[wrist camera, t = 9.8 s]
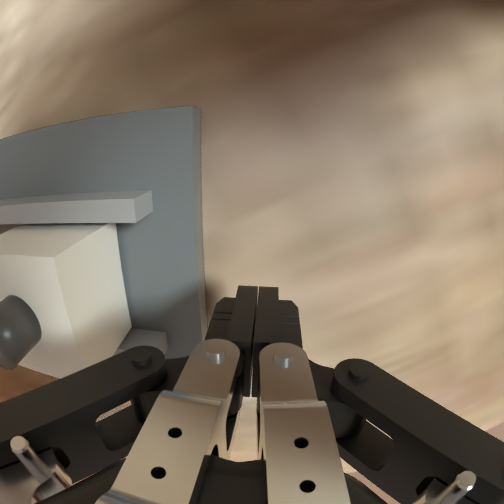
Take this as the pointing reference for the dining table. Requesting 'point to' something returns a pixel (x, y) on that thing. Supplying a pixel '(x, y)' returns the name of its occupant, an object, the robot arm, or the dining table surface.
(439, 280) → the dining table surface
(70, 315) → the spring plunger
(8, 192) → the tester base
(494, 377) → the dining table surface
